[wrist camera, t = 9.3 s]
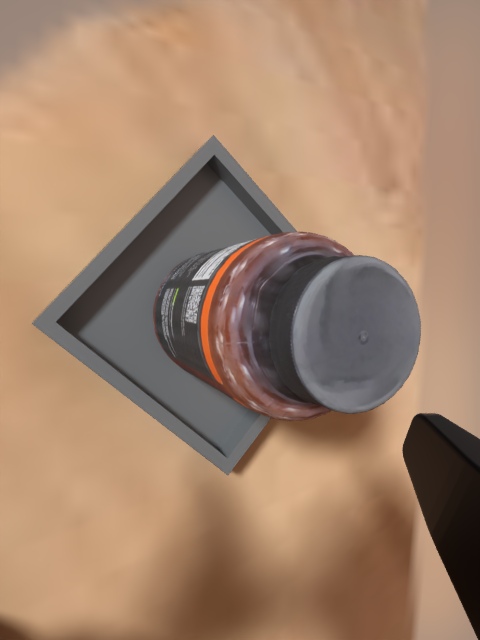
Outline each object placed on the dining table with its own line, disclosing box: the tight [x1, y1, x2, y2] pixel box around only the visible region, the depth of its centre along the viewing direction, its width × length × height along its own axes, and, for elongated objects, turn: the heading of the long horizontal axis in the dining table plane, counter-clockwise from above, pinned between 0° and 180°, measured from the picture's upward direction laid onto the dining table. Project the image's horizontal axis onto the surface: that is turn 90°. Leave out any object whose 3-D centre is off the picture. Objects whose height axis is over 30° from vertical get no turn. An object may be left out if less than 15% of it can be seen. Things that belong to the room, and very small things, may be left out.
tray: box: [32, 135, 297, 475], centre depth 21 cm, size 11×11×2 cm
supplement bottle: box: [153, 232, 421, 421], centre depth 16 cm, size 6×6×11 cm
